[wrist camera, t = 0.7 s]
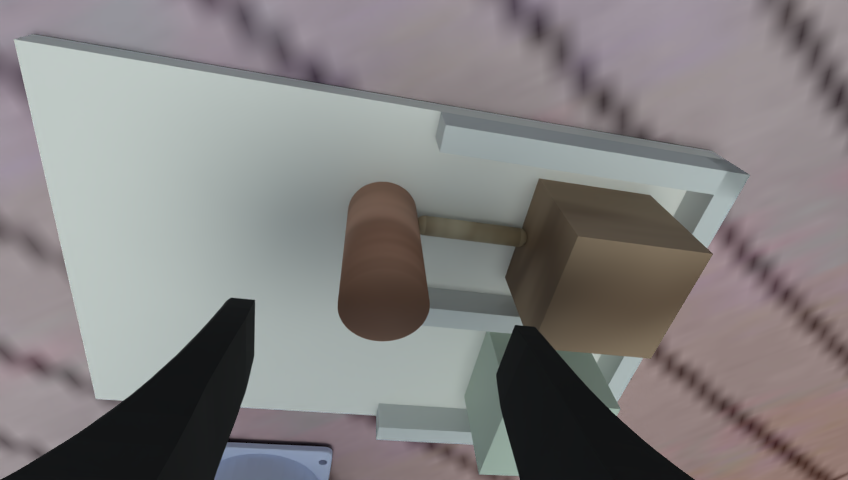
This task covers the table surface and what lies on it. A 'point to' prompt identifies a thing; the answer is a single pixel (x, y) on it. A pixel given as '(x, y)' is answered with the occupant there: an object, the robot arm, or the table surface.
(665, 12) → the table surface
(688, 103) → the table surface
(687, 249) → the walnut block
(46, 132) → the pale grey tray
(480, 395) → the sage block
